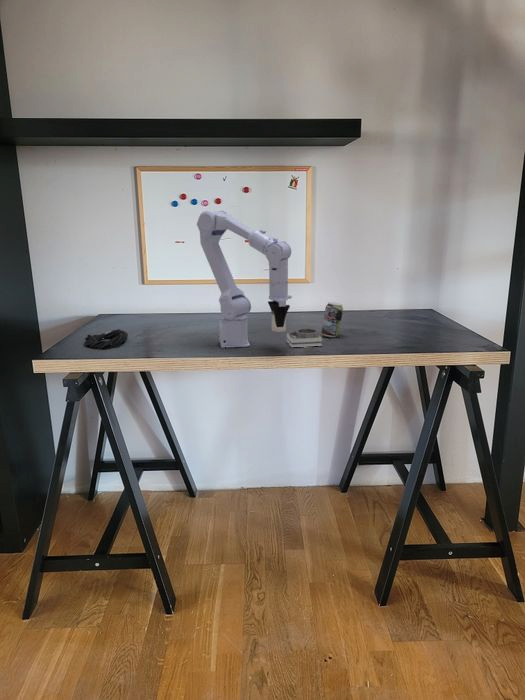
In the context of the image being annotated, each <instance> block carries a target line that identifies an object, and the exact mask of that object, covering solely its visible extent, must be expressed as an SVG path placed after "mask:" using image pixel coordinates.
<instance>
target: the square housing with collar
mask: <svg viewBox="0 0 525 700" xmlns="http://www.w3.org/2000/svg"><path fill="white" fill-rule="evenodd" d="M287 342H288V343H289V344H288V343H287ZM322 342H323V339H322V336H320V331H319V329H317V328H311V327H310V328H306V327H305V328H298V329H296V330H289V331H288V333H286V343H287V344H288V345H289V347H290V346H291V347H304V348H308V347H307V346H322ZM291 347H290V348H291ZM322 347H323V346H322Z"/></svg>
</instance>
